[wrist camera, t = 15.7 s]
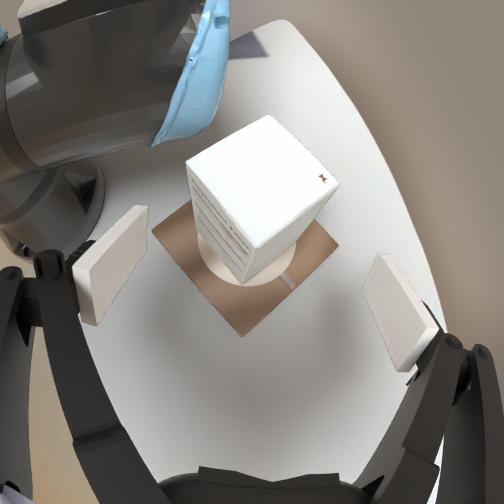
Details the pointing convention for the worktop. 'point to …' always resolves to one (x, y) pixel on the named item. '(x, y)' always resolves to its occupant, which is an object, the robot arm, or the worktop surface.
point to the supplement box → (256, 195)
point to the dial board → (223, 281)
